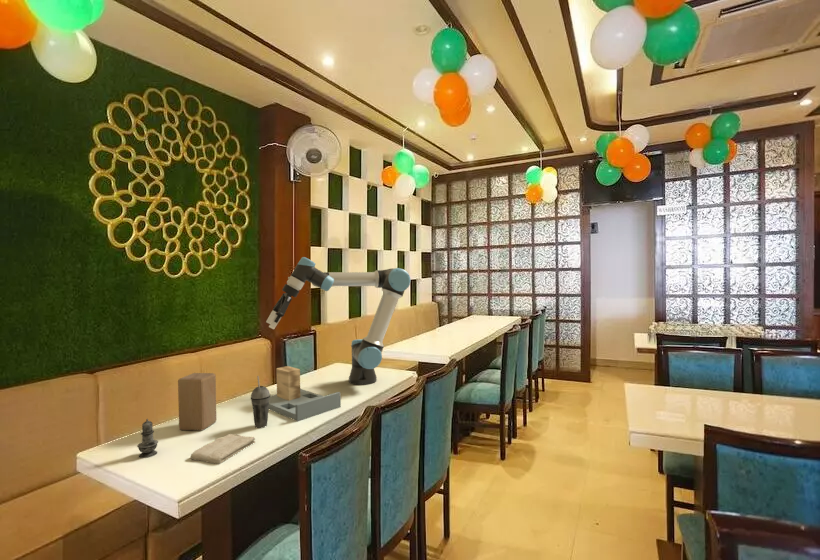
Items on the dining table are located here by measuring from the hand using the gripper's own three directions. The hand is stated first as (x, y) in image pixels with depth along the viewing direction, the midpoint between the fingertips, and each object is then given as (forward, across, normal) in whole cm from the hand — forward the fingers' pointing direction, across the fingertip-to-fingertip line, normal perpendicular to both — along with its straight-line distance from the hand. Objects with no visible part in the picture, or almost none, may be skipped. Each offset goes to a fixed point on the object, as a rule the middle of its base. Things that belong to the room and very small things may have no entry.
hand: (269, 325), depth 193 cm
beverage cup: (+32, +37, +10) cm, 50 cm away
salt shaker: (+50, +47, -21) cm, 72 cm away
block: (+44, +26, -8) cm, 52 cm away
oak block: (+24, +12, +22) cm, 34 cm away
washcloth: (+38, +55, -1) cm, 67 cm away
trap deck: (+24, +19, +26) cm, 40 cm away
